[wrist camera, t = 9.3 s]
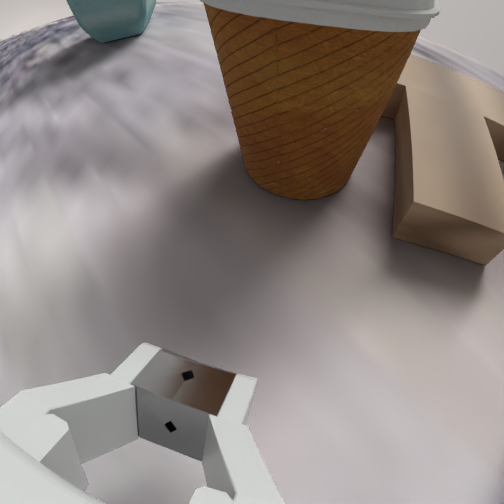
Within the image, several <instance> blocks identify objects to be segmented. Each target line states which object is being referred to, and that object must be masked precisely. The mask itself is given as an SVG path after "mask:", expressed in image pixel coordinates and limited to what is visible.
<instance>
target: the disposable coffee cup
mask: <svg viewBox="0 0 504 504" xmlns="http://www.w3.org/2000/svg"><path fill="white" fill-rule="evenodd" d="M200 1H202V2H203V3H204V6H205V9H206V13H207V17H208V21H209V25H210V28H211V33H212V37H213V40H214V45H215V48H216V52H217V55H218V56H217V57H218V60H219V64H220V68H221V72H222V75H223V78H224V79H223V80H224V84H225V87H226V92H227V96H228V99H229V104H230V107H231V110H232V111H231V113H232V116H233V119H234V124H235V127H236V132H237V136H238V137H239V138H238V140H239V144H240V146H241V147H240V148H241V152H242V157H243V161H244V166H245V168H246V170H247V172H248V174H249V175H250V176H251V177H252V179H253V180H254V181H255V182H256V183H257V184H259V185H260V186H261V187H263V188H265V189H266V190H268V191H270V192H272V193H274V194H276V195H279V196H283V197H288V198H293V199H303V200H306V199H317V198H321V197H324V196H328V195H330V194H332V193H335V192H337V191H338V190H339V189H341V188H342V187H343V186H344V185H345V184H346V183H347V181H348V180H349V179H350V176H351V174H352V172H353V170H354V168H355V166H356V164H357V162H358V160H359V158H360V157H361V155H362V153H363V151H364V149H365V147H366V145H367V143H368V141H369V139H370V137H371V135H372V133H373V131H374V130H375V127H376V125H377V123H378V121H379V119H380V117H381V115H382V113H383V111H384V109H385V107H386V105H387V103H388V101H389V99H390V96H391V94H392V92H393V91H394V89H395V86H396V84H397V82H398V80H399V78H400V75H401V73H402V71H403V69H404V67H405V65H406V62H407V60H408V58H409V56H410V54H411V51H412V48H413V46H414V44H415V42H416V39H417V37H418V35H419V33H420V30H421V29H425V28H426V27H427V26H428V24H429V22H430V19H431V18H434V17H435V16H437V15H438V14H439V12H440V5H439V3H438V2H437V1H436V0H200Z"/></svg>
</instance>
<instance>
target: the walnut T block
mask: <svg viewBox="0 0 504 504" xmlns="http://www.w3.org/2000/svg"><path fill="white" fill-rule="evenodd" d="M381 116H385V117H388V118H392V119H395V192H394V214H393V230H392V237H394V238H397V239H401V240H404V241H408V242H411V243H415V244H418V245H421V246H425V247H428V248H431V249H435V250H438V251H441V252H445V253H448V254H451V255H454V256H458V257H461V258H464V259H467V260H470V261H473V262H477V263H480V264H483V265H486V264H487V263H489V262H490V261H491V260H492V259H493V258H494V257H495V256H496V255H498V254H499V253H500V252H501V251H502V250H503V249H504V180H503V176H502V172H501V168H500V165H499V161H498V159H499V160H502V161H504V93H502V92H500V91H498V90H496V89H494V88H492V87H490V86H488V85H486V84H484V83H482V82H480V81H477V80H475V79H473V78H471V77H469V76H466V75H464V74H462V73H459V72H457V71H455V70H452V69H450V68H447V67H445V66H442V65H439V64H437V63H434V62H431V61H429V60H426V59H423V58H420V57H417V56H414V55H411V54H410V56H409V58H408V60H407V62H406V65H405V67H404V69H403V71H402V73H401V75H400V78H399V80H398V82H397V84H396V86H395V89H394V91H393V92H392V94H391V96H390V99H389V101H388V103H387V105H386V107H385V109H384V111H383V113H382V115H381Z"/></svg>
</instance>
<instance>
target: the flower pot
mask: <svg viewBox="0 0 504 504" xmlns="http://www.w3.org/2000/svg"><path fill="white" fill-rule="evenodd" d="M67 2H68V4H69V6H70V9H71V11H72V12H73V15H74V16H75V18H76V20H77V22H78V23H79V25H80V26H81V27H82V29H83V30H84V31H85V32H86V33H87V34H89V35H90V36H91V37H93V38H94V39H96V40H98V41H99V42H101V43H105V42H109V41H112V40H116V39H120V38H125V37H129V36H134V35H138V34H141V33H142V32H143V31H144V29H145V27H146V25H147V24H148V22H149V20H150V18H151V15H152V13H153V10H154V7H155V3H156V0H67Z"/></svg>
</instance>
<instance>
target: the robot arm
mask: <svg viewBox="0 0 504 504" xmlns="http://www.w3.org/2000/svg"><path fill="white" fill-rule="evenodd" d="M257 381H258V380H257V378H254V377H250V376H246V375H242V374H239V373H238V374H237V373H233V372H230V371H226V370H223V369H220V368H216V367H213V366H210V365H207V364H204V363H200V362H198V361H195V360H192V359H189V358H187V357H184V356H181V355H179V354H176V353H173V352H171V351H168V350H165V349H162V348H160V347H157V346H154V345H152V344H149V343H147V342H145V343H142V344H140V345H139V346H138V347H137V348H136V349H135V350H134V351H133V352H132V353H131V354H130V355H129V356H128V357H127V358H126V359H125V360H124V361H123V362H122V363H121V364H120V365H119V366H118V367H117V368H116V369H115V370H114V371H113V372H112V373H111V374H110V375H109V374H107V373H102V374H97V375H93V376H89V377H84V378H80V379H75V380H71V381H66V382H61V383H56V384H51V385H46V386H41V387H36V388H31V389H25V390H21V391H20V392H19V393H18V394H16V395H15V396H14V397H13V398H11V399H10V400H9V401H8V402H7V403H5V404H4V405H3V406H2V407H1V408H0V504H106V503H104V502H103V501H101V500H99V499H97V498H95V497H93V496H92V495H90V494H88V493H87V492H85V490H86V488H87V487H88V485H89V484H88V480H87V477H86V475H85V472H84V470H83V467H82V465H81V463H84V462H86V461H89V460H91V459H93V458H96V457H98V456H100V455H103V454H105V453H107V452H110V451H112V450H114V449H116V448H119V447H121V446H123V445H125V444H127V443H129V442H132V441H134V440H136V439H138V437H141V438H143V439H146V440H148V441H151V442H153V443H156V444H158V445H161V446H163V447H166V448H169V449H171V450H174V451H176V452H179V453H181V454H184V455H186V456H189V457H191V458H194V459H197V460H199V461H202V466H203V470H204V474H205V478H206V482H207V486H208V487H206V486H203V487H200V488H197V489H196V490H195V492H194V494H193V496H192V498H191V500H190V502H189V504H285V503H284V501H283V499H282V497H281V495H280V493H279V491H278V489H277V487H276V485H275V483H274V481H273V479H272V477H271V475H270V473H269V471H268V468H267V466H266V464H265V462H264V460H263V458H262V456H261V454H260V451H259V449H258V447H257V445H256V443H255V441H254V438H253V436H252V434H251V432H250V429H249V427H248V426H246V421H247V418H248V415H249V411H250V408H251V404H252V400H253V397H254V393H255V389H256V386H257Z"/></svg>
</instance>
